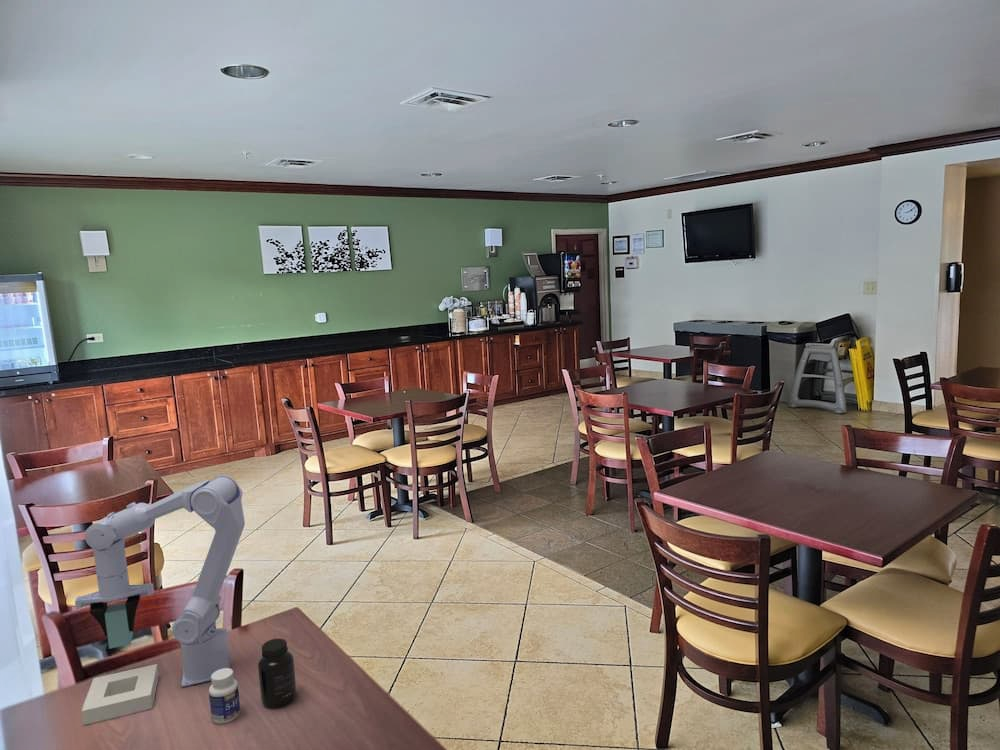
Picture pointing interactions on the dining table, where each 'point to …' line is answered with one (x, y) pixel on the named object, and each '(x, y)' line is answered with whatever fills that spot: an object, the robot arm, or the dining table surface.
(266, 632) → the dining table surface
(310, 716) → the dining table surface
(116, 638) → the peg
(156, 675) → the socket block
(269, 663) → the supplement bottle
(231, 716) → the pill bottle
